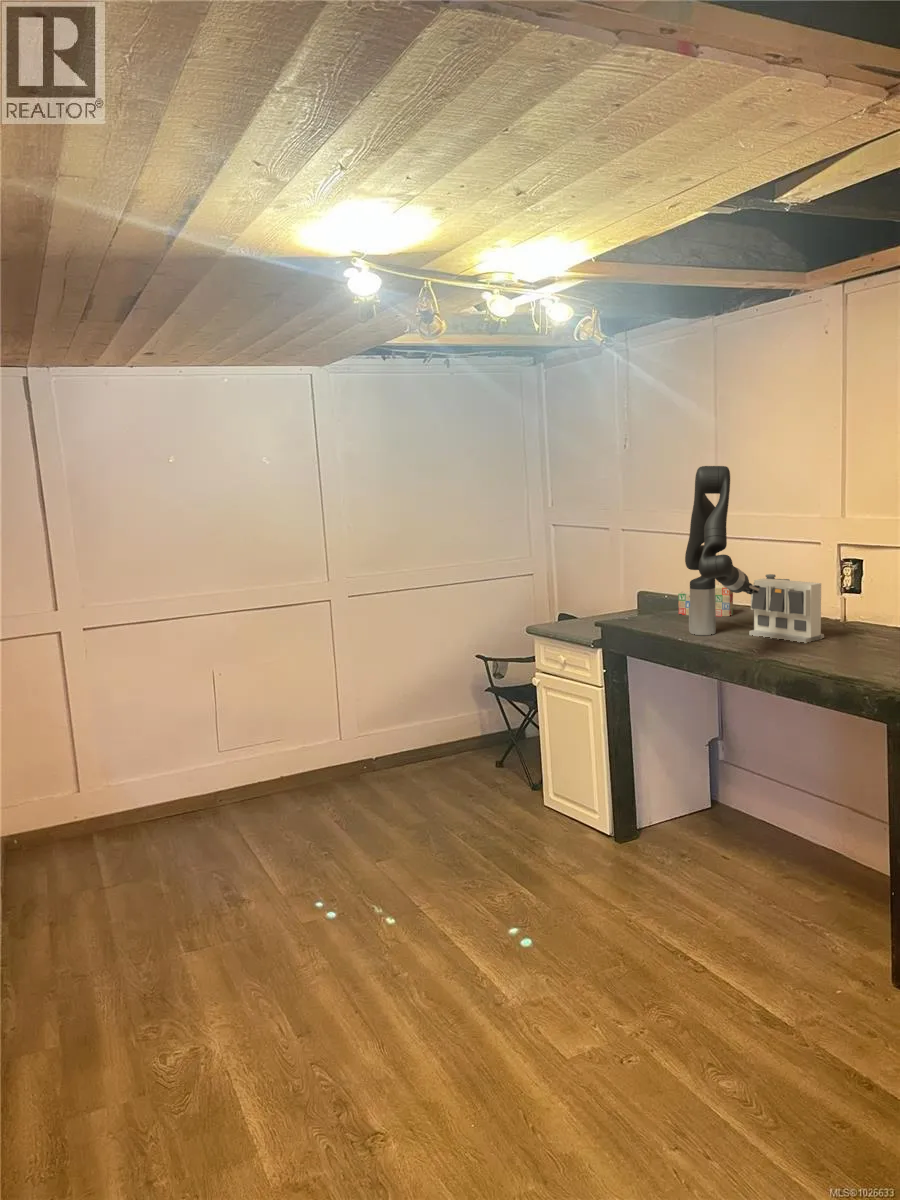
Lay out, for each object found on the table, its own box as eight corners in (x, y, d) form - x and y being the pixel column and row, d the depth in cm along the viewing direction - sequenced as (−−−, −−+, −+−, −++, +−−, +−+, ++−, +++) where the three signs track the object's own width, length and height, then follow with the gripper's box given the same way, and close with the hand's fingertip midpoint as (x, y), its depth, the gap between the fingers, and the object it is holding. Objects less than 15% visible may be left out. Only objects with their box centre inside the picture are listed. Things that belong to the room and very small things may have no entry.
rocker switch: (753, 608, 328) (757, 587, 328) (765, 610, 324) (768, 588, 324) (751, 608, 327) (754, 586, 327) (763, 609, 323) (766, 587, 323)
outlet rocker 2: (793, 611, 317) (790, 590, 315) (806, 612, 313) (803, 591, 311) (790, 612, 316) (787, 591, 314) (803, 614, 312) (800, 592, 310)
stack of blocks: (678, 615, 379) (677, 586, 377) (682, 612, 385) (681, 584, 383) (729, 617, 369) (729, 587, 367) (733, 614, 374) (733, 585, 372)
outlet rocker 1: (771, 610, 322) (775, 588, 322) (783, 612, 318) (787, 590, 318) (768, 610, 321) (772, 588, 321) (780, 611, 317) (784, 589, 317)
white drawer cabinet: (767, 630, 337) (767, 577, 334) (823, 638, 318) (824, 582, 315) (749, 635, 330) (749, 581, 327) (805, 643, 312) (806, 586, 309)
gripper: (755, 573, 297) (772, 586, 311) (719, 564, 306) (736, 576, 319) (748, 594, 297) (764, 606, 311) (711, 584, 306) (729, 596, 319)
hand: (750, 591), depth 315 cm, fingers closed
